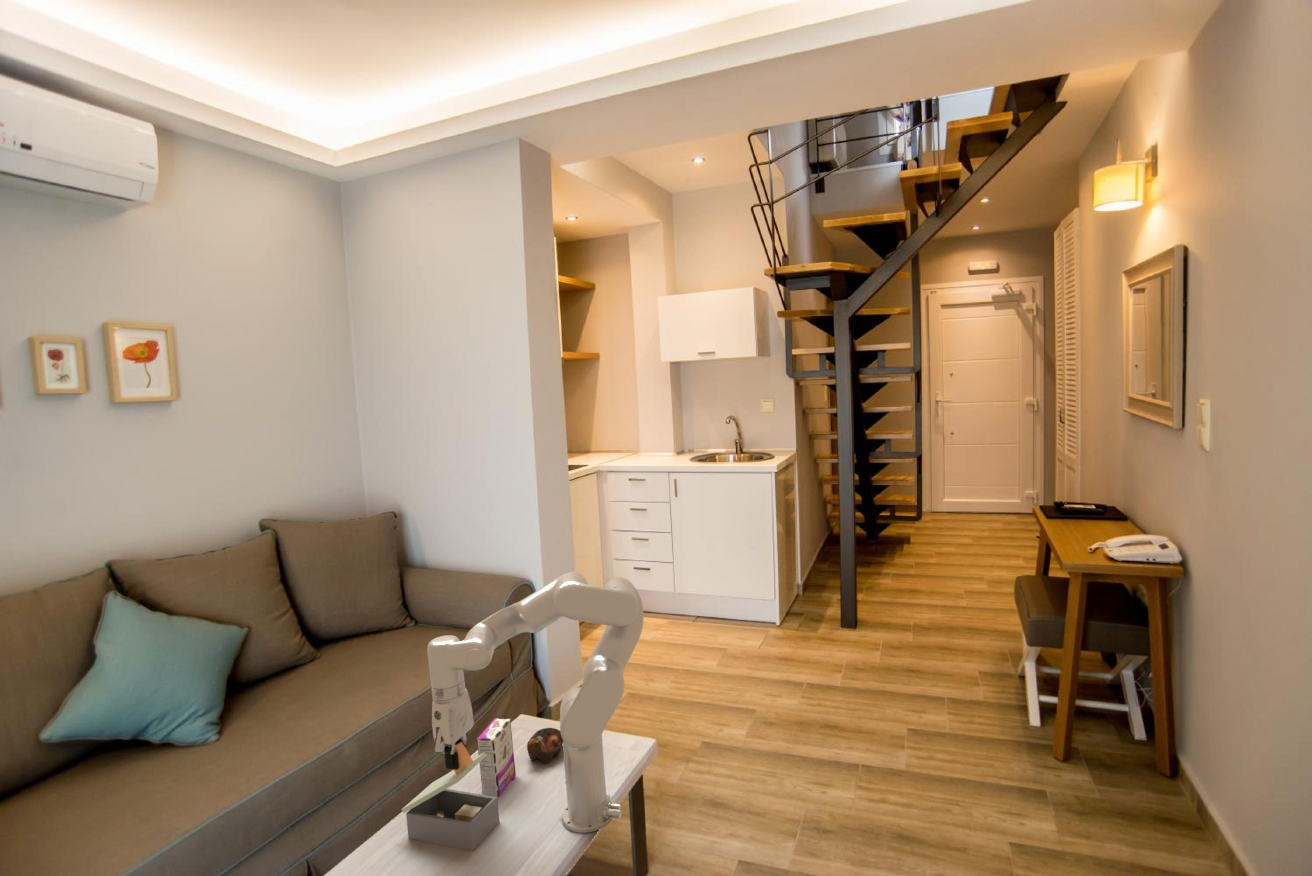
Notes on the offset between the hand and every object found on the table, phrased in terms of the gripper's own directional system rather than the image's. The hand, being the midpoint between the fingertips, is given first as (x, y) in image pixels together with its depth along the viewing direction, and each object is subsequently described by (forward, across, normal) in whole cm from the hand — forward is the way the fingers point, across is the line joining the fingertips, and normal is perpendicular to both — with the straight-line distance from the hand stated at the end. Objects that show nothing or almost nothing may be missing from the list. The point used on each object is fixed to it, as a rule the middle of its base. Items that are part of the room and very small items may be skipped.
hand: (456, 764), depth 163 cm
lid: (+5, 0, +4) cm, 7 cm away
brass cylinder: (+17, -2, +7) cm, 18 cm away
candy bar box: (+18, +19, +2) cm, 26 cm away
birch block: (+17, +2, 0) cm, 17 cm away
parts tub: (+17, 0, +3) cm, 18 cm away
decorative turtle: (+18, +36, -3) cm, 41 cm away
